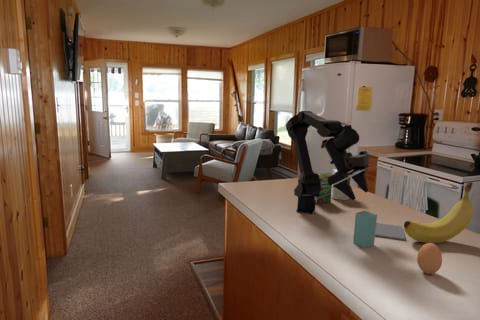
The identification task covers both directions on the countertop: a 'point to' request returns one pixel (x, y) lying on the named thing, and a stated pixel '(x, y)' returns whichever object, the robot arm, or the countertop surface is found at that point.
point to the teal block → (365, 229)
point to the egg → (429, 258)
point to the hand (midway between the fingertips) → (360, 195)
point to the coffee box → (324, 189)
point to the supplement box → (337, 193)
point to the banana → (443, 223)
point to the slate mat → (389, 231)
